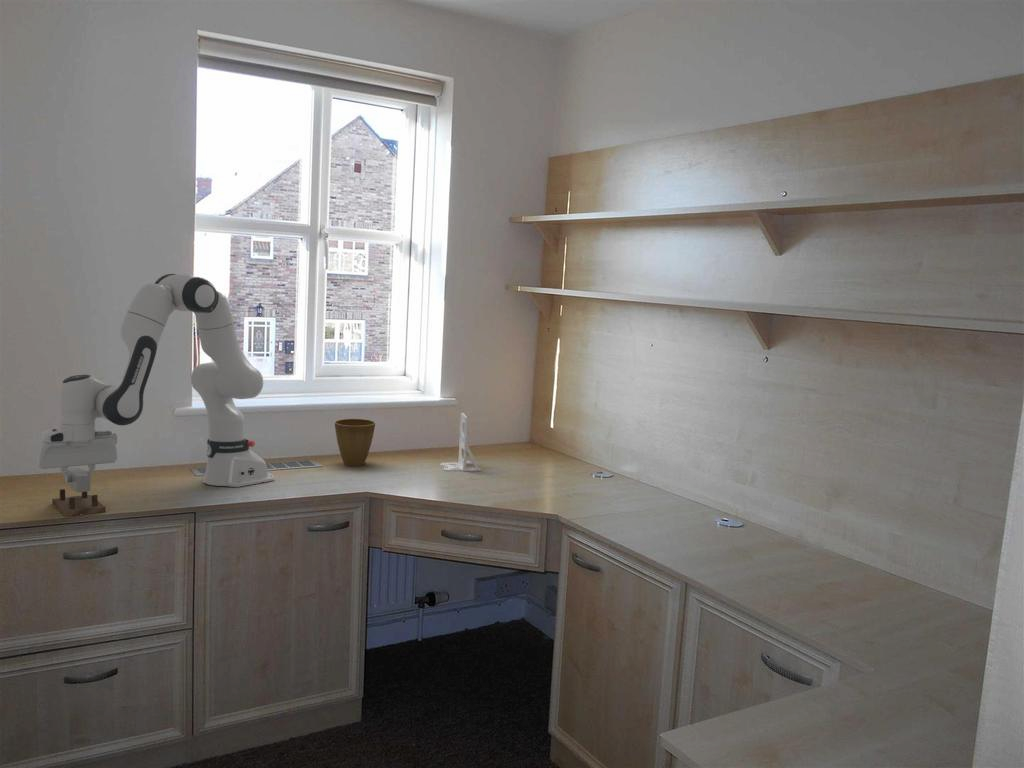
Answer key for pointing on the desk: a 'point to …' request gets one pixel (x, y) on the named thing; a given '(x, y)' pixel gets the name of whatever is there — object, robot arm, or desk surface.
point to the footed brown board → (78, 504)
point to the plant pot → (354, 439)
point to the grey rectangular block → (79, 480)
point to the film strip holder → (464, 445)
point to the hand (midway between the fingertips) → (77, 481)
